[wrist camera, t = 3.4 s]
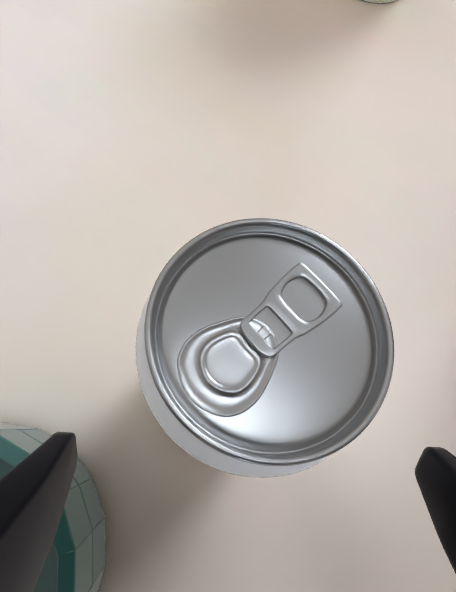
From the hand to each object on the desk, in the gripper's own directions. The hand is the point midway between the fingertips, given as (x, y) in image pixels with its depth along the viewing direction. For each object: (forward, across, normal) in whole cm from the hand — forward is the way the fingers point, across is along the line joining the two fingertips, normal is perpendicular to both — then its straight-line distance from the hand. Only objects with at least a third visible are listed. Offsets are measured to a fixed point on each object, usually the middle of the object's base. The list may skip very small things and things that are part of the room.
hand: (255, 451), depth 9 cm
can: (+9, 0, +5) cm, 10 cm away
